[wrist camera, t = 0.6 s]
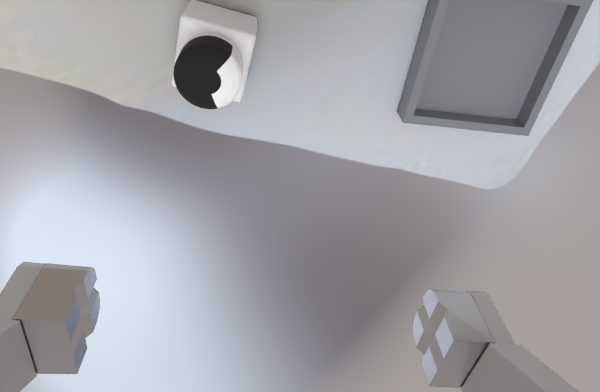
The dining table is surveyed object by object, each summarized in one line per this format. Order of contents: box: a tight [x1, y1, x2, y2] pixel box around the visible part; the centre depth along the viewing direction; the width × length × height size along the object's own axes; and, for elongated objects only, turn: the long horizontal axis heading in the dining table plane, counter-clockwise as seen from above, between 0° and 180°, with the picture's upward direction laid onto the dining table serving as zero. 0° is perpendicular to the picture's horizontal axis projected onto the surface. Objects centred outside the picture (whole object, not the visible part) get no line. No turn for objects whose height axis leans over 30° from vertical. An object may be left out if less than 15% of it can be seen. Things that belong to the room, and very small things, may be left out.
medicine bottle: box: [171, 0, 257, 109], centre depth 45 cm, size 7×7×12 cm
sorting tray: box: [397, 0, 593, 136], centre depth 51 cm, size 16×16×3 cm
